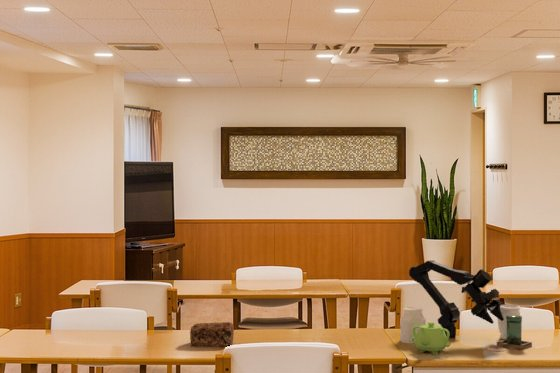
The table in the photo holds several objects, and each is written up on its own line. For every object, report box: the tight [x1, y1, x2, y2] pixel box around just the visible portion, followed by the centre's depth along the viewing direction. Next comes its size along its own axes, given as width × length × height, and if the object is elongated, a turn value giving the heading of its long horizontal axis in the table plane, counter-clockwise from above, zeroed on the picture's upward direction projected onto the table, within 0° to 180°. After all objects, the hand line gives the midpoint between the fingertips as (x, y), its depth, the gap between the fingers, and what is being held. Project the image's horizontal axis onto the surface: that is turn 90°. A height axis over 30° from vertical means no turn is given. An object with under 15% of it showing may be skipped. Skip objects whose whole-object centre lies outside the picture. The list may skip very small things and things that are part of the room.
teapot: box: [412, 321, 451, 355], centre depth 349 cm, size 16×14×13 cm
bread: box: [189, 321, 235, 348], centre depth 363 cm, size 19×11×10 cm, turn 86°
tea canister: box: [505, 315, 523, 345], centre depth 358 cm, size 7×7×12 cm
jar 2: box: [496, 304, 521, 340], centre depth 378 cm, size 11×10×15 cm
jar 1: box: [399, 306, 427, 345], centre depth 370 cm, size 12×10×15 cm
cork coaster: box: [484, 346, 507, 353], centre depth 351 cm, size 9×9×1 cm
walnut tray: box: [496, 339, 533, 351], centre depth 358 cm, size 11×11×2 cm
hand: (498, 321), depth 363 cm, fingers open, 9 cm apart
